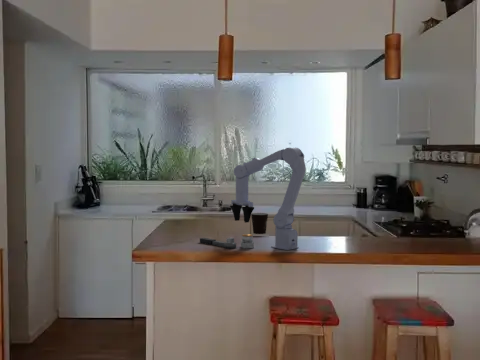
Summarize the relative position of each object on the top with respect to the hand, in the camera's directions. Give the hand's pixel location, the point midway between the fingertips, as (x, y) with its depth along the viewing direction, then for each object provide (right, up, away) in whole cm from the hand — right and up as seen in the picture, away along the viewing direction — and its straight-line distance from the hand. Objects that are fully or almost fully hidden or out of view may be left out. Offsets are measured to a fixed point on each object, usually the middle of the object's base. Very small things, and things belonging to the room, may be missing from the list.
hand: (241, 221), depth 249 cm
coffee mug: (+10, -9, +34) cm, 37 cm away
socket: (+2, -11, -8) cm, 13 cm away
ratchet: (-11, -11, -3) cm, 15 cm away
